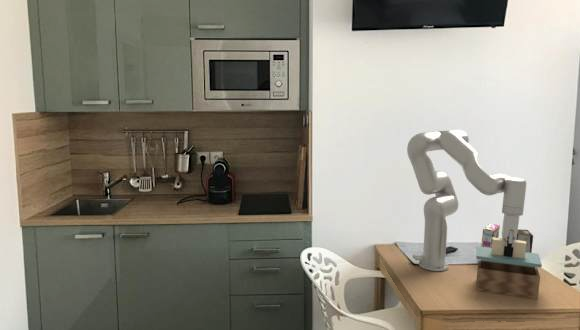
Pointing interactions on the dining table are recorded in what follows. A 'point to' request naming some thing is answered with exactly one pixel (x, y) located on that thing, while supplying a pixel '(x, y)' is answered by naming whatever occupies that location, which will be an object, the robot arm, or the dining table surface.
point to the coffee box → (525, 239)
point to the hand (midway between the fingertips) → (507, 254)
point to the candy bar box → (489, 235)
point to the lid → (497, 255)
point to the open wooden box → (508, 279)
